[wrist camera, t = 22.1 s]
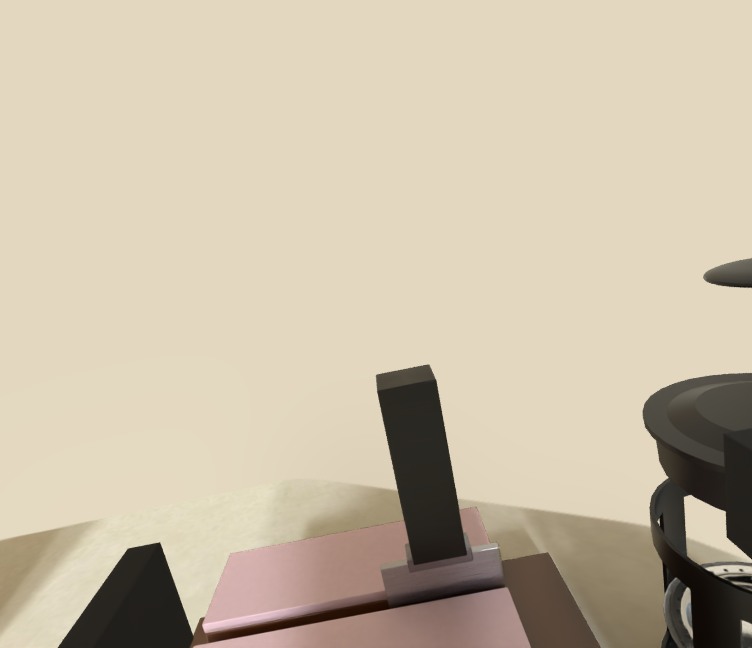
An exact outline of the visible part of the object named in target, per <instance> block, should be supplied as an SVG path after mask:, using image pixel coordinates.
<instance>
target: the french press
mask: <svg viewBox="0 0 752 648" xmlns="http://www.w3.org/2000/svg"><path fill="white" fill-rule="evenodd" d="M703 278H704V280H705V281H707V282H709V283H711V284H716V285H721V286H729V287H744V288H746V287H748V288H752V259H745V260H739V261H735V262H731V263H727V264H724V265H721V266H718V267H715V268H713V269H711V270H709V271H707V272H706V273H705V274H704V277H703ZM643 419H644V424H645V427H646V429H647V430H648V431H649V433H650V434H651V436H652V437H653V438H654V439H655V440H656V443H657V448H658V454H659V461H660V463H661V465H662V467H663V469H664V471H665V473H666V475H667V476H668V477H669V478H668V479H667V480H665V481H664V482H663V483H662V484H660V485H659V486H658V487H657V489H656V490H655V492H654V493H653V495H652V497H651V502H650V519H651V532H652V538H653V544H654V546H655V548H656V550H657V552H658V554H659V556H660V558H661V560H662V562H663V577H664V592H665V596H664V605H663V610H664V615H665V621H666V624H667V631H666V634H665V636H664V638H663V641H662V646H661V648H752V563H744V562H714V563H708V564H702V565H698V564H697V563H695V562H694V561H692V560H691V559H690V558H688V557H687V549H686V531H685V513H684V497H685V496H688V495H692V496H694V497H695V498H697V499H699V500H701V501H703V502H705V503H707V504H710V505H711V506H713V507H715V508H718V509H721V510H724V511H726V499H725V468H724V437H723V433H728V432H733V431H739V430H744V429H749V428H752V373H742V374H740V373H739V374H723V375H712V376H705V377H699V378H693V379H689V380H685V381H681V382H678V383H674V384H672V385H669V386H667V387H665V388H662V389H660V390H659V391H657V392H656V393H654V394H653V395H652V396H650V398H649V399H648V400H647V401H646V403H645V405H644V408H643ZM659 518H660V526H659V524H658V522H657V521H658V519H659Z"/></svg>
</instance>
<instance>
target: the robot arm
mask: <svg viewBox="0 0 752 648" xmlns="http://www.w3.org/2000/svg"><path fill="white" fill-rule="evenodd" d="M723 437H724V468H725V499H726V530H727V538H728V539H729V540H730V541H732V542H733V543H734V544H735V545H737V547H738V548H740V549H741V550H742V551H743V552H744V553H745V554H746V555H747V556H749V557H750V558H751V559H752V428H749V429H744V430H739V431H733V432H728V433H723ZM193 639H194V637H193V634H192V631H191V628H190V625H189V623H188V620H187V617H186V614H185V611H184V609H183V606H182V603H181V600H180V597H179V594H178V592H177V589H176V586H175V583H174V580H173V577H172V575H171V572H170V569H169V566H168V563H167V561H166V558H165V555H164V552H163V549H162V546H161V544H160V543H154V544H149V545H144V546H139V547H134V548H129V549H127V551H126V552H125V554H124V555H123V556H122V558H121V559H120V561H119V562H118V563H117V565H116V566H115V568H114V569H113V571H112V572H111V573H110V575H109V576H108V578H107V579H106V580H105V582H104V583H103V585H102V586H101V587H100V589H99V590H98V592H97V593H96V594H95V596H94V597H93V599H92V600H91V602H90V603H89V604H88V606H87V607H86V609H85V610H84V611H83V613H82V614H81V616H80V617H79V618H78V620H77V621H76V623H75V624H74V625H73V627H72V628H71V630H70V631H69V633H68V634H67V635H66V637H65V638H64V640H63V641H62V642H61V644H60V645H59V647H58V648H190V646H191V644H192V641H193Z"/></svg>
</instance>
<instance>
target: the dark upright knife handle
mask: <svg viewBox="0 0 752 648" xmlns="http://www.w3.org/2000/svg"><path fill="white" fill-rule="evenodd" d="M376 382H377V393H378V397H379V402H380V407H381V412H382V417H383V422H384V426H385V431H386V436H387V441H388V445H389V450H390V455H391V460H392V464H393V469H394V474H395V479H396V484H397V488H398V493H399V498H400V503H401V507H402V512H403V517H404V522H405V526H406V531H407V536H408V541H409V543H406V544H405V550H406V558H407V559H404V560H399V561H394V562H389V563H383V564H380V569H381V574H382V578H383V583H384V587H385V591H386V596H387V600H388V604H389V609H394V608H399V607H404V606H410V605H415V604H420V603H426V602H431V601H436V600H442V599H447V598H452V597H458V596H463V595H468V594H474V593H479V592H484V591H490V590H495V589H500V588H506V587H505V580H504V574H503V568H502V562H501V555H500V549H499V545H498V543H497V542H494V543H489V544H483V545H478V546H473V547H471V545H470V542H469V539H468V536H467V533H466V532H463V528H462V522H461V516H460V511H459V505H458V500H457V495H456V488H455V483H454V477H453V472H452V466H451V460H450V455H449V449H448V444H447V438H446V432H445V427H444V421H443V416H442V410H441V404H440V398H439V393H438V387H437V382H436V379H435V377H434V374H433V372H432V370H431V368H430V365H423V366H418V367H413V368H408V369H403V370H398V371H393V372H388V373H383V374H378V375H376Z"/></svg>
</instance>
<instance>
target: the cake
mask: <svg viewBox="0 0 752 648" xmlns="http://www.w3.org/2000/svg"><path fill="white" fill-rule="evenodd" d="M459 511H460V516H461V522H462V528H463V532H466V533H467V536H468V539H469V542H470V545H471V547H473V546H478V545H483V544H489V543H490V541H489V538H488V536H487V533H486V531H485V528H484V525H483V523H482V520H481V518H480V515H479V513H478V510H477V508H476V507H472V508H467V509H461V510H459ZM406 543H409V541H408V536H407V531H406V526H405V522H404V521H399V522H393V523H388V524H383V525H378V526H372V527H367V528H362V529H357V530H351V531H346V532H341V533H336V534H331V535H325V536H320V537H315V538H310V539H304V540H299V541H294V542H289V543H283V544H278V545H273V546H268V547H262V548H257V549H252V550H247V551H242V552H236V553H231V554H230V556H229V558H228V561H227V563H226V566H225V568H224V571H223V573H222V576H221V578H220V581H219V583H218V586H217V588H216V591H215V594H214V596H213V599H212V601H211V604H210V606H209V609H208V611H207V614H206V616H205V619H204V621H203V624H202V626H203V629H204V632H205V633H206V637H207V640H208V643H207V644H202V645H197V646H194V647H193V648H531V646H530V644H529V641H528V638H527V636H526V633H525V631H524V628H523V626H522V623H521V620H520V618H519V615H518V613H517V610H516V608H515V605H514V603H513V600H512V597H511V595H510V592H509V590H508V588H507V587H506V588H500V589H495V590H490V591H484V592H479V593H474V594H468V595H463V596H458V597H452V598H447V599H442V600H436V601H431V602H426V603H420V604H415V605H410V606H404V607H399V608H394V609H389V604H388V600H387V596H386V591H385V587H384V583H383V578H382V574H381V569H380V564H383V563H389V562H394V561H399V560H404V559H407V558H406V550H405V544H406Z"/></svg>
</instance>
